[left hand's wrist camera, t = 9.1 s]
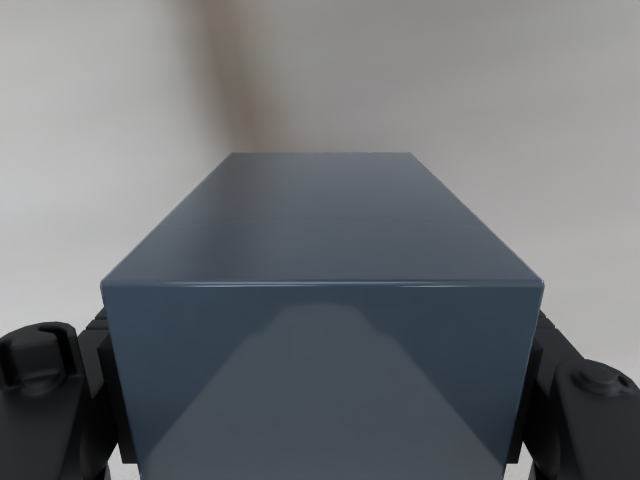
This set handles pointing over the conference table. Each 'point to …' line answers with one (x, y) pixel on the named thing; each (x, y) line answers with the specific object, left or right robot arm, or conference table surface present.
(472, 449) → the block
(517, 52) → the conference table surface
